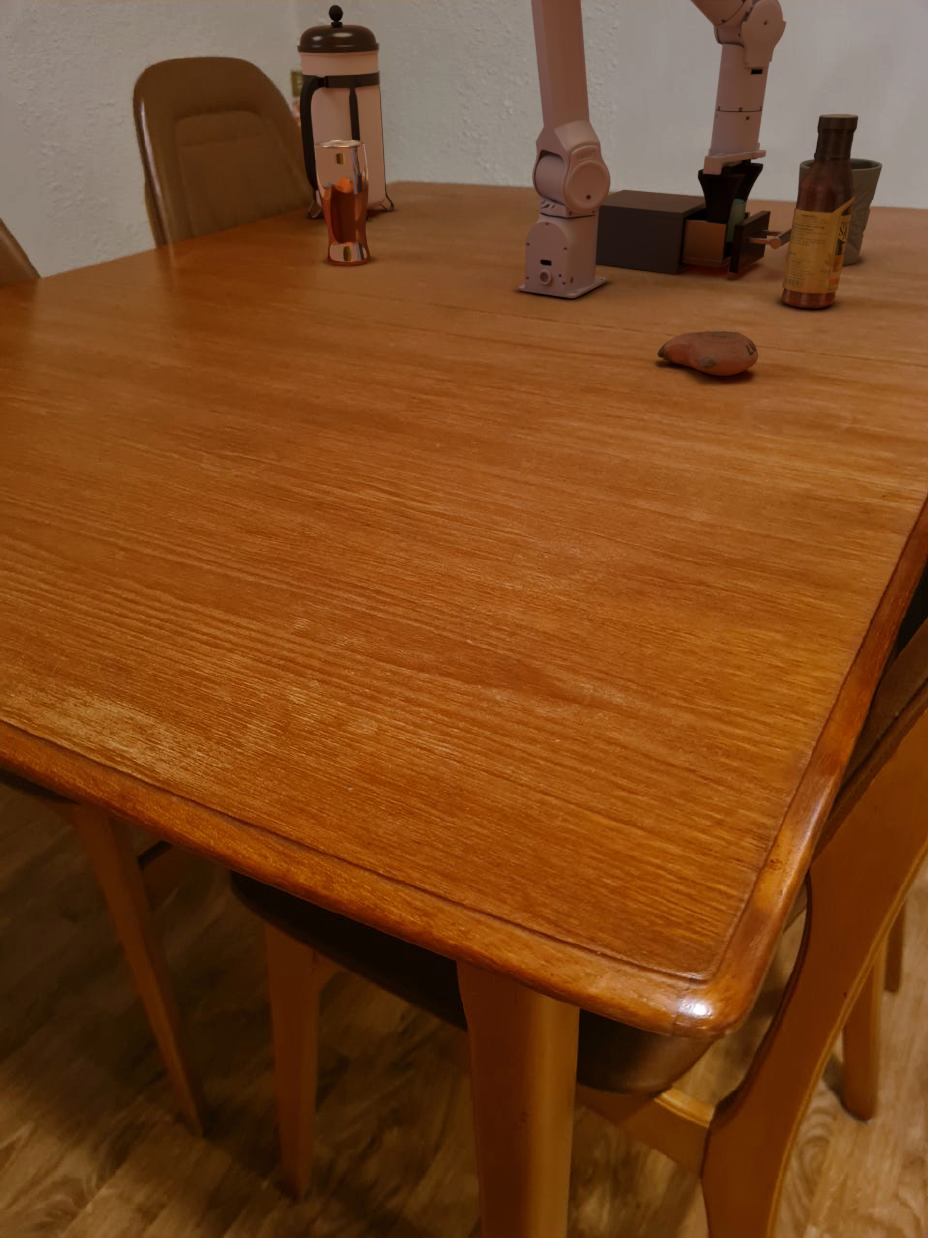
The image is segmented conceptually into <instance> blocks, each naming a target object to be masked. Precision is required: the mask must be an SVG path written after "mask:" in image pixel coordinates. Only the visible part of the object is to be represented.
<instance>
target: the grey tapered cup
mask: <svg viewBox="0 0 928 1238" xmlns="http://www.w3.org/2000/svg"><path fill="white" fill-rule="evenodd" d="M813 162H814V158H813V159H807V160H804V161H801V162H800V164H799V171H798V187H797V189H798V188H799V184H800V182H801V180H802V178H803V176H804V175H805V173H806V172H807V171H808V169H809V168H810V167H811V165H812V164H813ZM850 162H851V169H852V177H853V184H854V191H855V198H854V204H853V209H852V214H851V221H850V226H849V232H848V237H847V242H846V248H845V252H844V258H843V263H842V266H849V265H853V264H854V263H855V264H856V262H858V260H859V258H860V254H861V250H862V246H863V238H864V235H865V234H864V232H865V231H866V228H867V225H868V220H869V218H870V214H871V208H870V206H871V205H872V202H873V200H874V198H875V194H876V191H877V188H878V183H879V180H880V175H881V172H882V169H883V164H882V163H881V162H879V161H876V160H873V159H866V158H858V157H850Z"/></svg>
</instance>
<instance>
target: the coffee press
mask: <svg viewBox="0 0 928 1238" xmlns="http://www.w3.org/2000/svg"><path fill="white" fill-rule="evenodd" d="M344 13H345V12H343V9H342V7H341V6H340V5H338V4H333V5H331V6H330V7H329V9H328V13H327V14H328V17H329V18H330V20H331V22H330V24H325V25H315V26H312V27H308V28H307V29H306V30H304V31H303V33H301V35H300V38H299V44H298V45H296V49H297V52H298V55H300V57H299V58H300V65H301V72H300V79H301V80H300V81H301V89H300V94H299V122H300V123H299V124H300V133H301V143H302V151H303V161H304V168H305V173H306V178H307V180H308V183H309V185H310V187H311V190H312V201H311V203H310V205H309V207H308V209H307V215H308V216H309V217H310V218H311V219H316V218H317V219H318V217H319V216H320V214H321V213H323V209H322V205H321V201H320V197H319V192H318V185H317V176H316V147H315V144H316V143H318V142H322V141H330V140H359V141H363V142H364V143H365V152H366V159H367V167H368V181H369V192H368V206H367V210H371V209H375V208H378V207H380V206H381V208H383V209H384V210H385V211H387V212H392V211H393V210H394V208H395V204H394V203H393V201H392V200H391V199H390V197H389V195H388V193H387V181H386V179H387V178H386V164H385V163H386V162H385V148H384V147H385V146H384V145H385V144H384V128H383V112H382V111H383V109H382V96H381V87H380V84H382V83H381V82H382V81H381V71H380V70H379V56H378V55H379V52H380V43H379V42H377V38H376V36H375V33H374V32H373V31H372V30H371V29H370V28H368V27H366V26H364V25H359V24H344V23H343V22H342V21H341V20H342V19H343V16H344ZM386 199H387V200H388V202H389V203H390V207H389V208H386V207H385V206H384V202H385V200H386ZM315 204H316V205H317V206H318V207H320V208H319V209H318V210H317V211H316V213H315V214H314V215H311V212H312V210H313V208H314V206H315ZM368 215H369V214H367V217H366V222H367V221H369V217H368Z"/></svg>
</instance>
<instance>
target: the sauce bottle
mask: <svg viewBox="0 0 928 1238" xmlns="http://www.w3.org/2000/svg"><path fill="white" fill-rule="evenodd" d="M858 122H859V115H857V114H849V113H830V114H829V113H828V114H821V115H819V117H818V121H817V128H816V129H817V130H816V131H817V138H816V139H817V140H816V144H815V145H816V146H815V152H813V159H814V162H813V164H812V165H811V167H810V168H809V169H808V171H807V172H806V173H805V175H804V176H803V178H802V180H801V182H800V184H799V183H798V185H799V188H798V187H797V197H796V203H795V208H794V209H793V216H792V221H791V228H790V229H791V234H790V241H789V242H788V248H787V254H786V260H785V266H784V274H783V281H782V288H783V291H782V294H781V300H782V302H783V303H784V304H786V305H788V306H791V307H795V308H802V309H819V308H825V307H829V306H832V304H834V301H835V298H836V293H837V291H838V290H839V284H840V279H841V274H842V269H843V265H842V263H843V258H844V252H845V248H846V242H847V237H848V232H849V226H850V221H851V214H852V209H853V204H854V198H855V191H854V184H853V177H852V169H851V162H850V158H852V157H851V156H852V146H853V142H854V136H855V133H856V131H857V129H858Z"/></svg>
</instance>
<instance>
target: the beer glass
mask: <svg viewBox="0 0 928 1238" xmlns="http://www.w3.org/2000/svg"><path fill="white" fill-rule="evenodd" d="M315 147H316V176H317V185H318V192H319V197H320V201H321V205H322V207H321V208H322V209H323V211H322V213H323V216H324V220H325V224H326V225H325V226H326V228H327V236H328V248H327V263H329V264H330V265H333V266H334V265H335V266H344V267H345V266H347V267H348V266H358V265H363V264H367V263H369V262H370V261H371V259H372V258H371V252H370V249H369V243H368V239H367V221H366V217H367V215H368V209H367V206H368V192H369V181H368V167H367V159H366V152H365V143H364V142H363V141H359V140H330V141H322V142H318V143H316V144H315Z"/></svg>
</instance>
